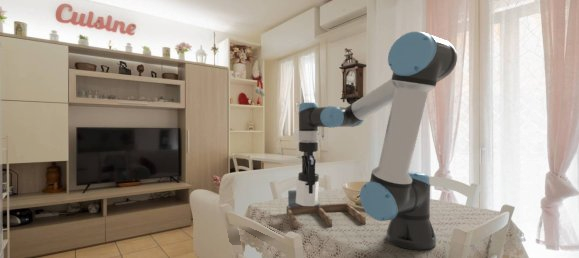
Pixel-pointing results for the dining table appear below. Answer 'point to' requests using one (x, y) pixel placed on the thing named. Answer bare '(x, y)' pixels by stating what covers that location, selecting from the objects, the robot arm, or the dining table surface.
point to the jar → (306, 191)
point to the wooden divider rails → (319, 210)
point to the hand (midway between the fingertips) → (308, 199)
